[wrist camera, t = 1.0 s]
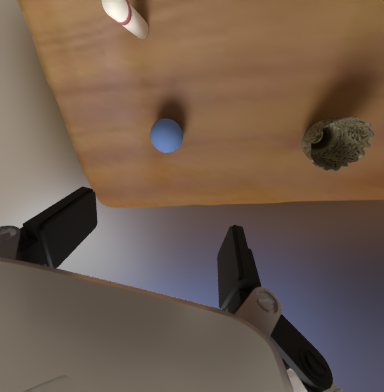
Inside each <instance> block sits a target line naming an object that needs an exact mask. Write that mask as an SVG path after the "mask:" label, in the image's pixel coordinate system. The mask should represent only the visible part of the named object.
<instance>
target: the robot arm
mask: <svg viewBox="0 0 384 392" xmlns="http://www.w3.org/2000/svg"><path fill="white" fill-rule="evenodd" d="M96 226H97V210H96V196H95V192H93V189H90V188H86V187H81V188H79V189H78V190H76V191H74V192H73V193H71V194H70V195H68V196H66V197H65V198H64V199H62V200H60V201H59V202H57V203H56V204H54V205H52V206H51V207H49V208H48V209H46V210H44V211H43V212H41V213H40V214H38V215H36V216H35V217H33V218H31V219H30V220H28V221H27V222H25V223H23V227H22V228H20V229H19V228H18V227H15V226H1V227H0V392H344V391H343V390H342V389H341V388H339V389H338V388H337V387H336V385H335V384H334V383H333V377H332V373H331V370H330V368H329V366H328V364H327V362H326V360H325V359H324V357H323V356H322V355H321V354H320V353H319V352H318V350H317V349H316V348H315V347H314V346H313V345H312V344H311V343H310V342H309V341H308V340H307V339H306V338H305V337H304V336H303V335H302V334H301V333H300V332H299V331H298V330H297V329H296V328H295V327H294V326H293V325H292V324H291V323H290V322H289V321H288V320H287V319H286V318H285V317H284V316H283V315H282V314H281V311H282V309H281V304H280V302H279V300H278V299H277V297H276V296H275V295H274V294H273V293H272V292H271V291H269V290H268V289H266V288H264V287H261V283H260V279H259V276H258V272H257V269H256V265H255V261H254V258H253V254H252V251H251V249H248V246H247V242H246V238H245V234H244V230H243V227H241V226H236V225H233V227H230V228H229V230H228V232H227V234H226V237H225V239H224V241H223V243H222V246H221V248H220V250H219V253H218V257H217V261H218V287H219V288H218V289H219V307H220V308H221V309H222V310H221V309H217V308H214V307H210V306H207V305H203V304H199V303H196V302H192V301H188V300H184V299H180V298H176V297H172V296H168V295H164V294H160V293H156V292H152V291H148V290H144V289H140V288H136V287H132V286H127V285H123V284H119V283H115V282H111V281H107V280H103V279H99V278H94V277H90V276H86V275H81V274H77V273H73V272H69V271H65V270H61V269H56V268H57V267H58V266H59V265H60V264H61V263H62V262H63V261H64V260H65V259H66V258H67V257H68V256H69V255H70V254H71V253H72V252H73V251H74V250H75V249H76V247H77V246H78V245H79V244H80V243H81V242H82V241H83V240H84V239H85V238H86V237H87V236H88V235H89V234H90V233H91V232H92V231H93V230H94V229H95V227H96Z"/></svg>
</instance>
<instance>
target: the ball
mask: <svg viewBox="0 0 384 392" xmlns="http://www.w3.org/2000/svg"><path fill="white" fill-rule="evenodd" d="M150 138H151V141H152V144H153V145H154V147H155V148H156V149H158V150H159V151H161V152H165V153H170V152H173V151H175V150H177V149H178V148H179V147H180V145H181V143H182V139H183V134H182V130H181V128H180V126H179V125H178V124H177V123H176V122H175V121H173V120H171V119H167V118H166V119H160V120H158V121H157V122H155V123H154V125H153V126H152V128H151V131H150Z"/></svg>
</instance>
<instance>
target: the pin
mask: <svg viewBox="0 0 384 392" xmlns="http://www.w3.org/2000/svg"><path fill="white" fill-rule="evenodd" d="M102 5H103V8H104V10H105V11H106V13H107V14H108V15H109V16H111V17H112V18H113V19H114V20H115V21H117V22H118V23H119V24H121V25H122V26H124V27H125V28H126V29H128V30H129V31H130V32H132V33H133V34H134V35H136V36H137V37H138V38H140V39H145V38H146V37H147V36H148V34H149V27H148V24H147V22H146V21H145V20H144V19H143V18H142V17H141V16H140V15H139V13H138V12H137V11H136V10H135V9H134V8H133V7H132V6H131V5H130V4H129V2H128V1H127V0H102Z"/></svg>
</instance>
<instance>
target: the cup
mask: <svg viewBox="0 0 384 392" xmlns="http://www.w3.org/2000/svg"><path fill="white" fill-rule="evenodd" d="M370 126H371V124H370V123H368V122H362V121H360V120H359V119H358V117H342V118H330V119H325V120H322V121H319V122H317V123H315V124H314V125H312V126H311V127H310V128H309V129H308V130H307V131H306V133H305V134H304V136H303V139H302V149H303V151H304V153H305V154H306V156H307V157H308V158H309V159H310V160H311V161H312V162H313V164H314V165H315V166H316V167H317V166H318V167H321V168H323V169H325V170H332V171H337V170H339V168H340V167H346V168H347V167H348V164H347V162H350V163H351V162H356V161H358V160H359V159H358V157H361V156H364V154H365V153H364V150H363V149H362V148H369V147H370V144H369V143H368V140H369V139H371V138H372V137H373V136H374V133H373V131H372V130H371V129H370V128H369V127H370ZM318 134H319V136H318V138H317V139H316V136H317V135H318Z"/></svg>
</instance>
